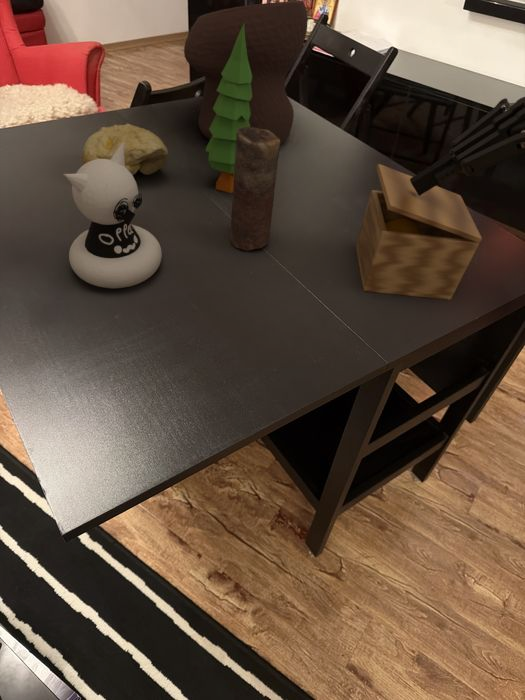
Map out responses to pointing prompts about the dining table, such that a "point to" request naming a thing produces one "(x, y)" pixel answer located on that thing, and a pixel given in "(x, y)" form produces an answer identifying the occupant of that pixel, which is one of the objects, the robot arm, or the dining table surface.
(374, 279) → the chest
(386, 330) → the dining table surface
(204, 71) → the vase
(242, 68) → the decorative tree
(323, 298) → the dining table surface
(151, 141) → the beige rounded lump
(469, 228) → the lid
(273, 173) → the brown upright cylinder
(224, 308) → the dining table surface
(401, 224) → the apple
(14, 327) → the dining table surface
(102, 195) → the decorative figurine
